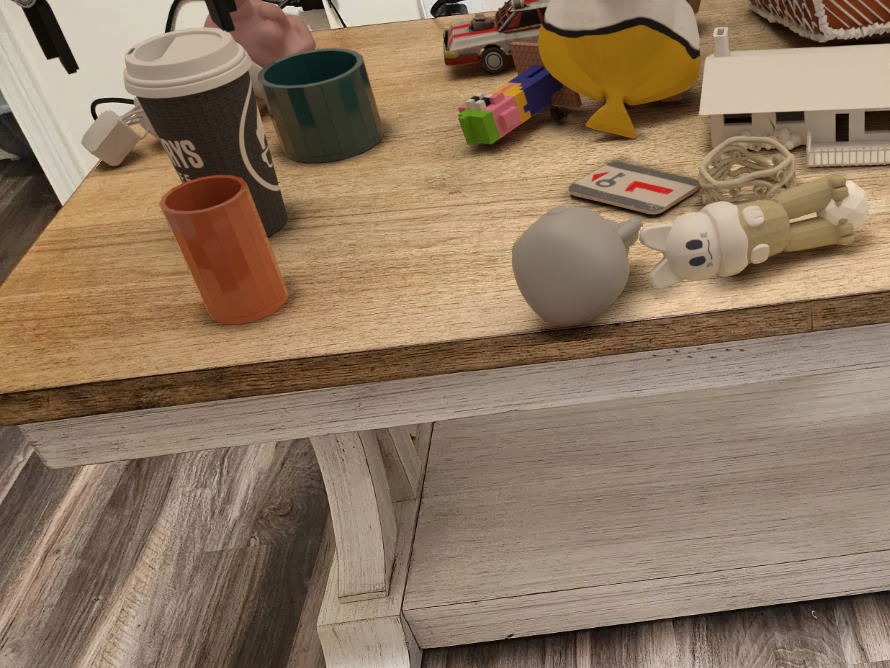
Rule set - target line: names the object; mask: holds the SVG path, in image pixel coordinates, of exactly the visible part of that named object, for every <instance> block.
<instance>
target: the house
mask: <svg viewBox="0 0 890 668" xmlns="http://www.w3.org/2000/svg"><path fill="white" fill-rule="evenodd" d="M729 37H730V36H729V27H728V26H720V27H715V28H714V30H713V32H712V42H713V43H712V44H713V53H711V54H710V55H709V56H707V57H705V61H704V66H703V67H704V68H703V77H702V86H701V95H700V104H699V110H698V116H709V126H710V136H711V148H712V149H714V148H715V147H717V146H718V145H719V144H721V143H722V142H724V141H725V140H727V139H728V138H732V137H736V136H745V137H769V138H772V139H774V140H776V141H778V142H779V143H780V144H782V145H784V146H785V148H786V149H787V150H788V151H791V150H793V149H794V148H797V147H799V146H806V152H805V153H806V155H805V157H806V168H811V167H812V168H816V167H820V168H823V167H827V168H830V167H840V166H841V167H845V166H848V167H851V166H855V167H858V166H862V167H864V166H873V165H876V166H879V165H883V166H885V165H890V129H886V130H885V129H881V130H879V129H878V130H865V119H866V118H865V113H866V112H879V111H880V112H881V111H883V112H884V111H890V43H876V44H856V45H855V44H854V45H853V44H851V45H835V46H833V45H831V46H811V47H793V48H791V47H790V48H770V49H769V48H767V49H749V50H730V39H729ZM837 114H848V141H837V138H836V137H837V135H836V133H837V132H836V131H837V130H836V127H837V126H836V115H837ZM742 118H743V119H744V118H751V122H732V123H727V122H726V123H725V121H726V119H742ZM751 144H752V143H733V144H731V145H738V146H741V147H743V148H745V149H746V150H748V149H749V150H751V151H754V150H753V149H752V147H751ZM756 146H757V145H756ZM762 149H766V150H771V149H772V150H773V149H776V148H775V147H774V146H772V145H770V144H766V143H763V146H762Z"/></svg>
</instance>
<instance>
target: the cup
mask: <svg viewBox="0 0 890 668" xmlns="http://www.w3.org/2000/svg"><path fill="white" fill-rule="evenodd" d="M158 206H159V208H160V210H161V212H162V214H163V216H164V219H165V221H166V223H167V225H168V228H169V230H170V232H171V234H172V237H173V239H174V241H175V243H176V245H177V248H178V250H179V252H180V255H181V257H182V259H183V262H184V263H185V266H186V268H187V270H188V273H189V274H190V277H191V279H192V281H193V284H194V286H195V288H196V290H197V292H198V295H199V297H200V299H201V301H202V304H203V306H204V308H205V309H206V311H207V314H208V316H209V317H210V319H212V320H213V321H215V322H217V323H219V324H224V325H241V324H248V323H252V322H256V321H258V320H262V319H264V318H267V317H269V316H270V315H272V314H274V313H275V312H277V311H278V310H280V309H282V307H283V306H284V305H285V304H286V302H287V301H288V298H289V292H288V289H287V284H286V282H285V280H284V279H285V278H284V277H283V273H282V270H281V269H280V266H279V264H278V263H279V262H278V261H277V258H276V256H275V253H274V250H273V248H272V246H271V243H270V240H269V238H268V237H269V236H268V237H267V235H266V232H265V229H264V227H263V224H262V222H261V219H260V217H259V214H258V211H257V209H256V206H255V204H254V201H253V198H252V196H251V193H250V191H249V188H248V185H247V183H246V182H245V181H244V180H243V179H242V178H240V177H236V176H233V175H213V176H206V177H201V178H197V179H194V180H190V181H187V182H184V183H182V182H181V183H180V184H178V185H176V186H174V187H172V188H170V189H169V190H167V192H166V193H164V195H162V197H161V198H160V200H159V203H158Z"/></svg>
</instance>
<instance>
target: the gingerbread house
mask: <svg viewBox="0 0 890 668" xmlns="http://www.w3.org/2000/svg"><path fill="white" fill-rule="evenodd" d="M748 1H749V3H750V4H749V8H748V9H749V11H752V12H754V13H755V14H757V15H759V16H760V17H762V18H764V19H767V21H768V22H769V23H770V24H772V23H778V24H781V25H783V27H784V28H785V27H787V28H788V29H789V30H791V31H792V32H793V33H795V34H798V35H799V36H800V37H803V38H805V39H810V40H812V41H814V42H818V43H827V42H828V41H835V40H845V41H846V40H851V39H856V40H858V39H860V38H861V39H863V38H865V37H867V36H869V37H870V38H871V37H872V36H873V35H874V34H877V35H880V36H881V35H883V34H884V33H886V34H890V0H748Z"/></svg>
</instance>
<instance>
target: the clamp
mask: <svg viewBox="0 0 890 668" xmlns="http://www.w3.org/2000/svg"><path fill="white" fill-rule="evenodd" d="M262 69H263V68H262V67H261V66H259V65H258V64H256V63H254V62H253V61H252V65H251V67H250V68H249V70H248V71H249V75H250V79H251V82H252V86H253V90H254V94H255V97H257V98H259V99H261V100H263V101H265V100H264V97H263V94H262V91H261V89H260V86H259V83H258V80H257V79H258V73H259V72H260V71H261V70H262ZM133 105H134V107H133V108H131V109H130V110H129V111H127V112H125V113H124V114H121V115H119V114H117V112H115V111H113V110H105V111H102V112H101V113H100V114H99V116H98V117H97V118H96V119H95V120H94V122H93V123H92V124H90V127H89V128H88V129H87V130H86V131H85V133H84V134H83V136H82V139H81V142H80V144H81V145H82V146H83V148H85V149H86V150H87V151H88V153H90V154H91V155H92V156H94V157H96V158H97V159H99V160H100V161H102V162H104V163H106V164H107V165H108V166H112V167H114V166H115V167H116V166H120V165H121V164H122V162H123V161H124V160H125V159H126V157H127V156H128V155H129V154H130V152H131V151H132V150H133V148H135V146H136V145H137V144H138V143H139V141H142V140H143V139H145V138H147V136H148V135H149V134H150V135H152V136H153V137H154V138H156V139H157V140H159V138H158V136H157V134H156V132H155V130H154V128H153V127H152V125H151V123H150V121H149V119H148V117H147V115H146V114H145V112H144V110H143V108H142V106H141V104H140V103H139V101H138V99H137V97H136V96H134V97H133ZM136 119H138V120H136ZM132 120H134V121H132ZM138 124H139V125H140V127H141V128H143V129H144V130H145V132H144V134H142V135H141V136H140V135H139V134H138V133H137V132H136V131H135V130H134V129H133V128H132V127H131V126H133V125H138Z"/></svg>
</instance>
